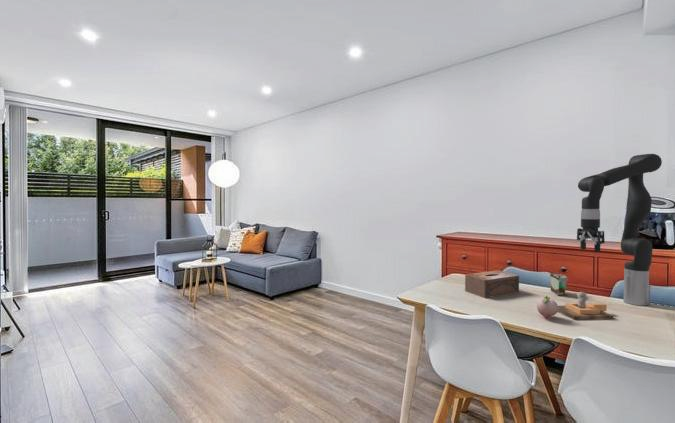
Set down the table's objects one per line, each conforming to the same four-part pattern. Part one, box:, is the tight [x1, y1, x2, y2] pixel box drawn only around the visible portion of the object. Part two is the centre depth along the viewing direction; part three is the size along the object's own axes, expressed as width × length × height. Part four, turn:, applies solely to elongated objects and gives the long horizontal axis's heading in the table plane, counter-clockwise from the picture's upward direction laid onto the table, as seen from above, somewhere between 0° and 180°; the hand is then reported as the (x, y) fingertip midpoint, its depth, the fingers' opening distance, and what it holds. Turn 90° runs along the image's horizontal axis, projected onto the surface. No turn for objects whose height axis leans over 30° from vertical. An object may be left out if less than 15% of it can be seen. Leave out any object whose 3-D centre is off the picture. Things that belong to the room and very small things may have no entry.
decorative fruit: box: [536, 295, 559, 319], centre depth 148 cm, size 9×8×10 cm
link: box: [565, 302, 608, 314], centre depth 152 cm, size 15×9×3 cm, turn 91°
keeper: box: [557, 291, 614, 321], centre depth 152 cm, size 18×14×10 cm
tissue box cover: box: [464, 269, 520, 299], centre depth 189 cm, size 26×14×10 cm, turn 112°
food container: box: [549, 273, 569, 297], centre depth 184 cm, size 12×6×10 cm, turn 168°
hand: (589, 250), depth 162 cm, fingers open, 8 cm apart
